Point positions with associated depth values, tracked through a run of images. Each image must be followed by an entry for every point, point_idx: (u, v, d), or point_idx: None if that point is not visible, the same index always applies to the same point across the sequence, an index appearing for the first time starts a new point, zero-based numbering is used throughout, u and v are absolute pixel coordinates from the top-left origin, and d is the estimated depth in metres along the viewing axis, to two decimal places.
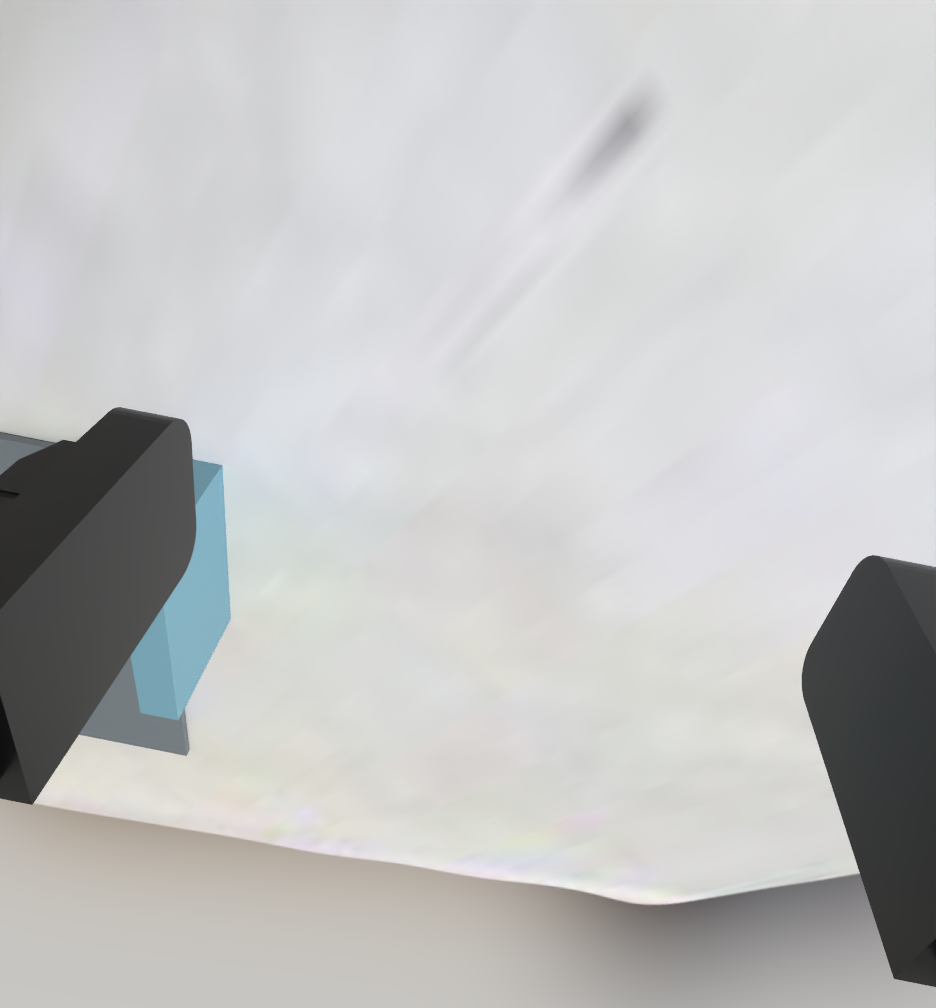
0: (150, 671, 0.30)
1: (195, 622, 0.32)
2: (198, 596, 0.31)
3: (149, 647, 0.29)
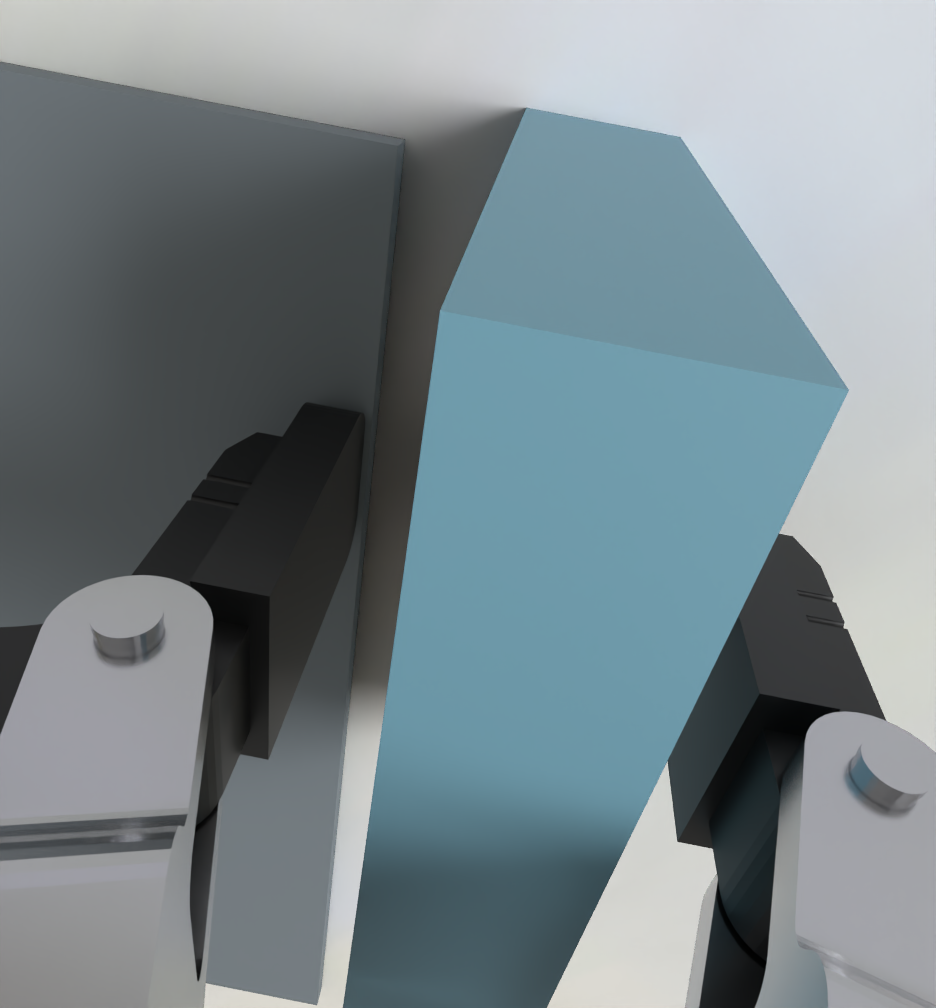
0: None
1: None
2: None
3: (465, 939, 0.06)
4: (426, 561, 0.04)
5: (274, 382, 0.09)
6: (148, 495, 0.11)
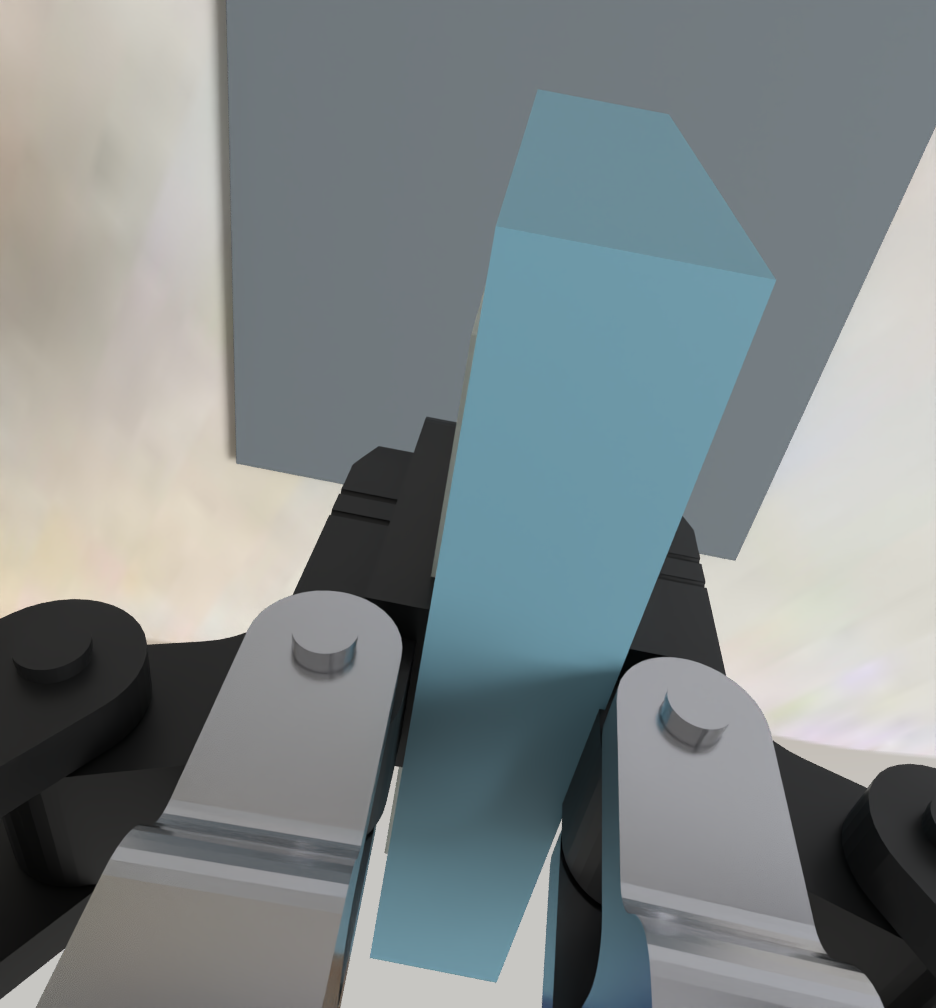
0: (462, 844, 0.08)
1: None
2: None
3: (495, 760, 0.07)
4: (477, 420, 0.05)
5: None
6: (830, 65, 0.19)
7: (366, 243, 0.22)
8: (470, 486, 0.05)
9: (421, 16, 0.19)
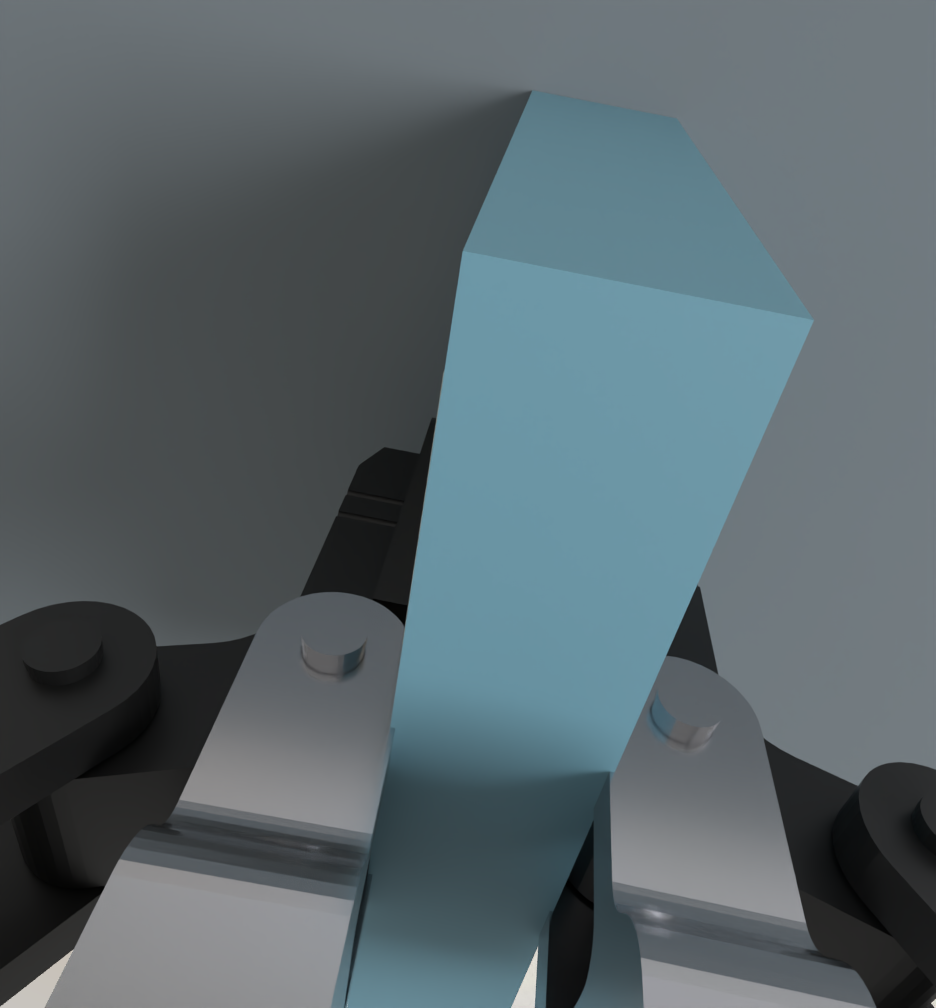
0: (439, 937, 0.07)
1: None
2: None
3: (474, 853, 0.06)
4: (445, 482, 0.04)
5: None
6: None
7: (194, 463, 0.12)
8: (439, 557, 0.04)
9: (249, 38, 0.08)
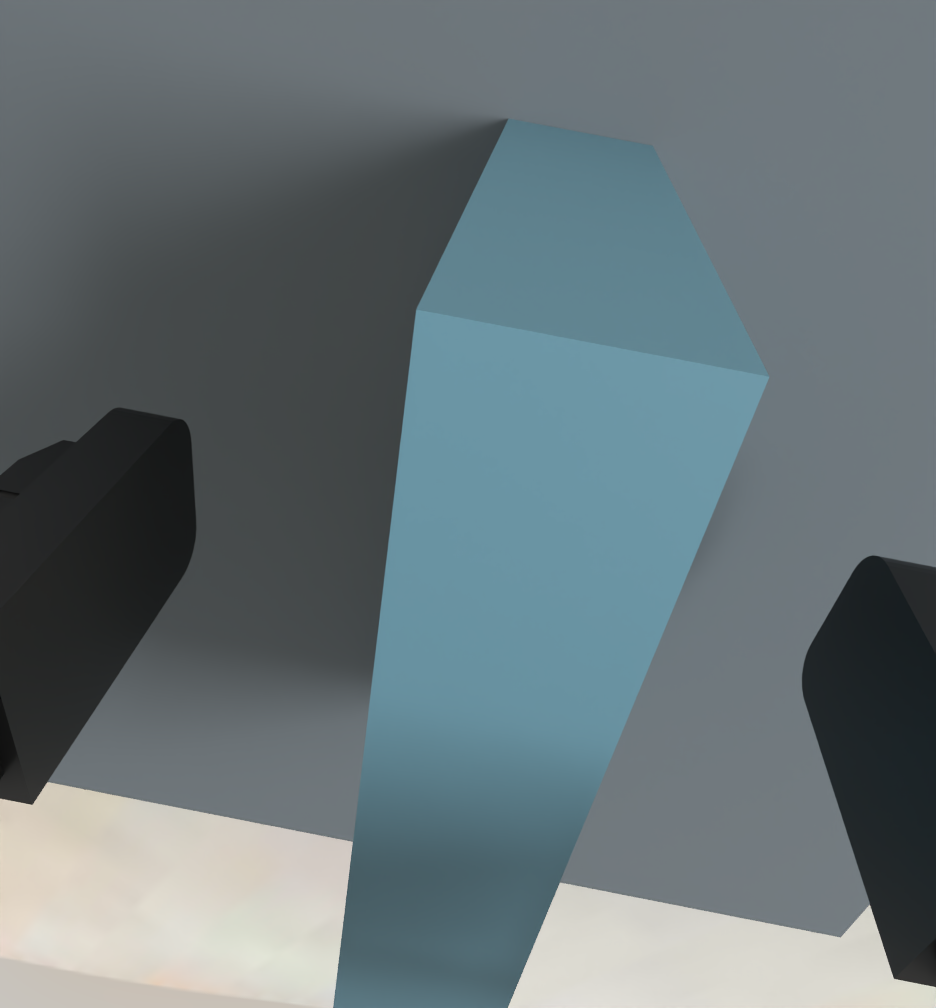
0: (419, 975, 0.07)
1: None
2: None
3: (451, 892, 0.06)
4: (408, 533, 0.04)
5: None
6: None
7: None
8: (404, 605, 0.04)
9: (230, 69, 0.08)
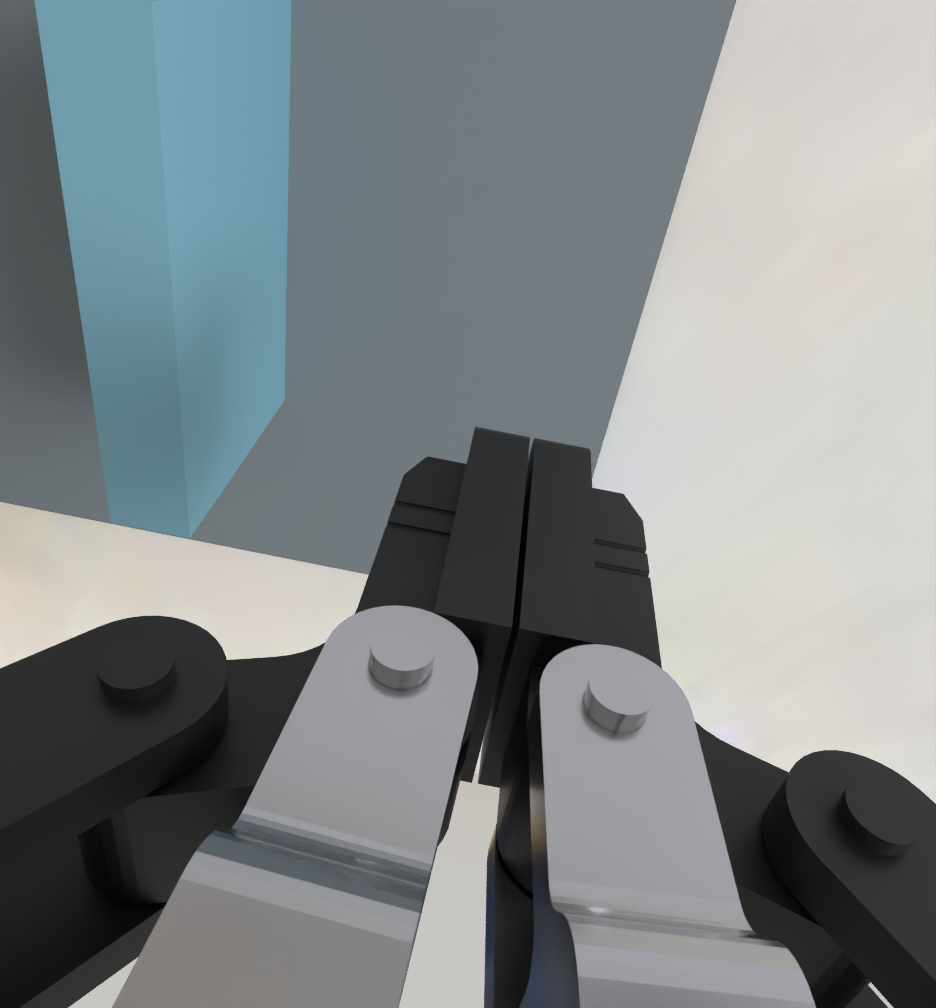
0: (132, 403, 0.14)
1: (229, 330, 0.15)
2: (237, 270, 0.15)
3: (129, 326, 0.13)
4: (53, 85, 0.11)
5: None
6: (568, 10, 0.15)
7: (55, 237, 0.18)
8: (61, 126, 0.11)
9: None
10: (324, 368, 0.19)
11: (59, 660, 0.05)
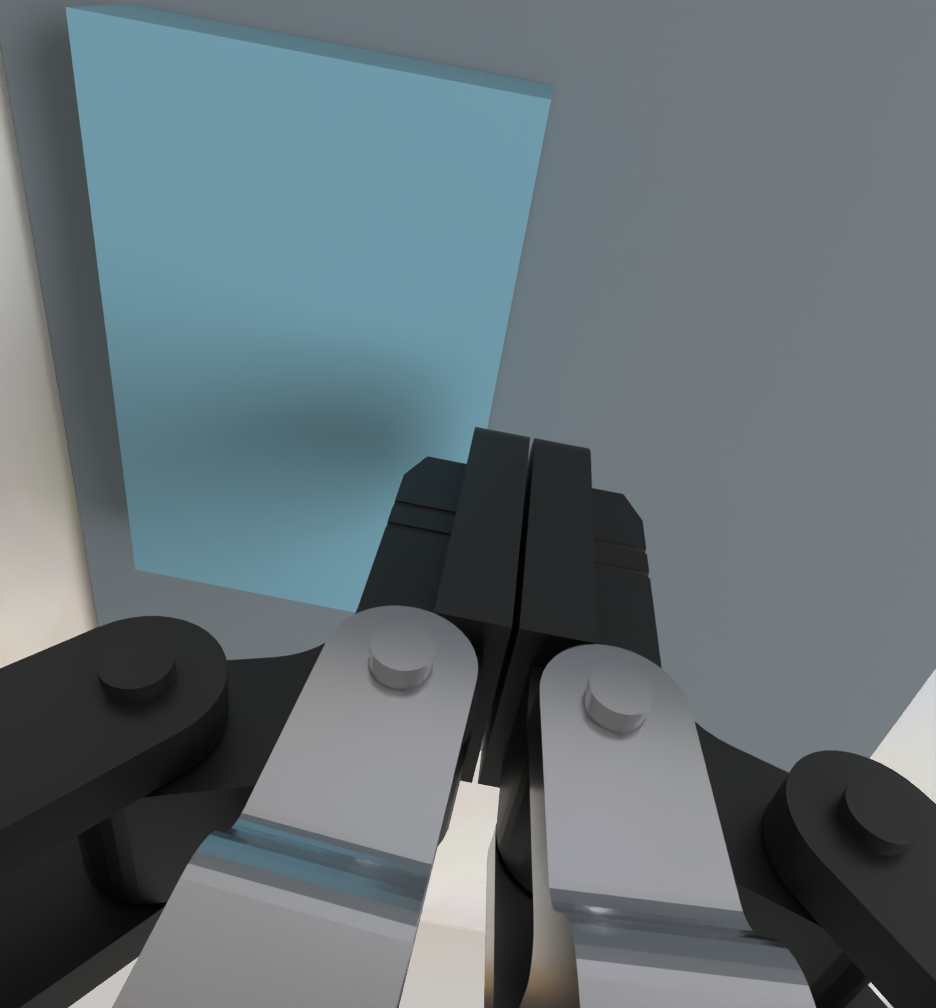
0: None
1: (255, 435, 0.12)
2: (287, 383, 0.12)
3: None
4: None
5: None
6: None
7: None
8: None
9: None
10: None
11: (59, 660, 0.05)
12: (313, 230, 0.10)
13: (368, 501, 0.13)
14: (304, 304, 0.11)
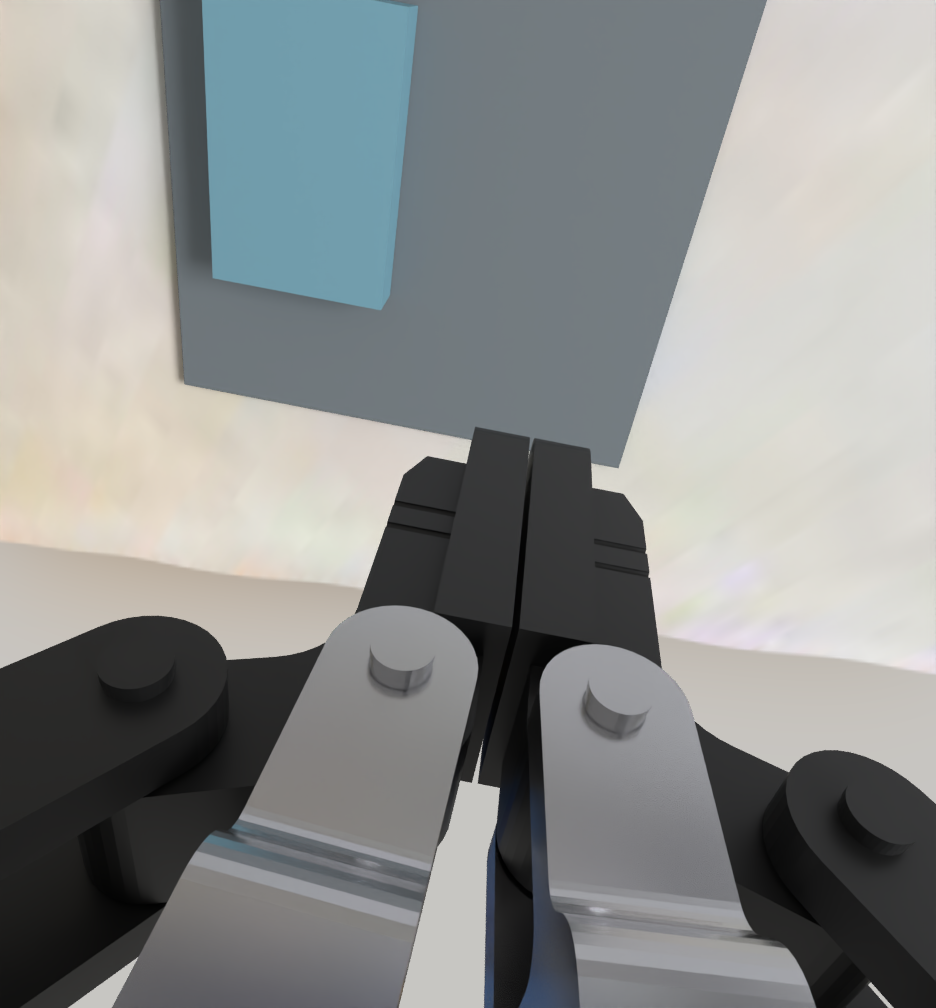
0: None
1: (279, 187, 0.25)
2: (295, 156, 0.24)
3: None
4: None
5: None
6: (652, 26, 0.23)
7: None
8: None
9: None
10: (465, 277, 0.27)
11: (59, 660, 0.05)
12: (307, 72, 0.23)
13: (336, 225, 0.25)
14: (303, 111, 0.23)
